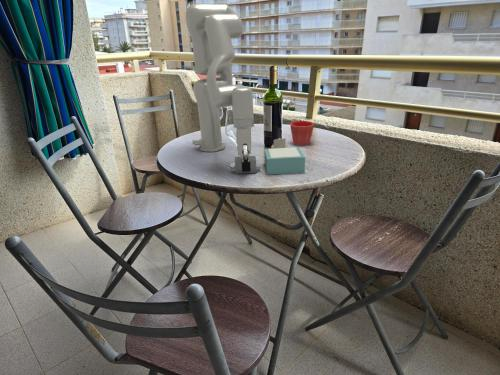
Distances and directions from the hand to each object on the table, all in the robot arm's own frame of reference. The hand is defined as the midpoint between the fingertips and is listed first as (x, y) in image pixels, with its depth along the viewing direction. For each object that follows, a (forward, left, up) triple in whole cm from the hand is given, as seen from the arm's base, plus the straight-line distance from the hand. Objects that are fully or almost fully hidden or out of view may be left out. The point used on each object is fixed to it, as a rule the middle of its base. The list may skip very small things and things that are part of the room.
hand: (246, 167), depth 123 cm
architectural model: (+15, +17, -2) cm, 23 cm away
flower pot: (+28, +31, -1) cm, 42 cm away
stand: (+15, 0, -1) cm, 15 cm away
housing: (0, -1, -1) cm, 1 cm away
